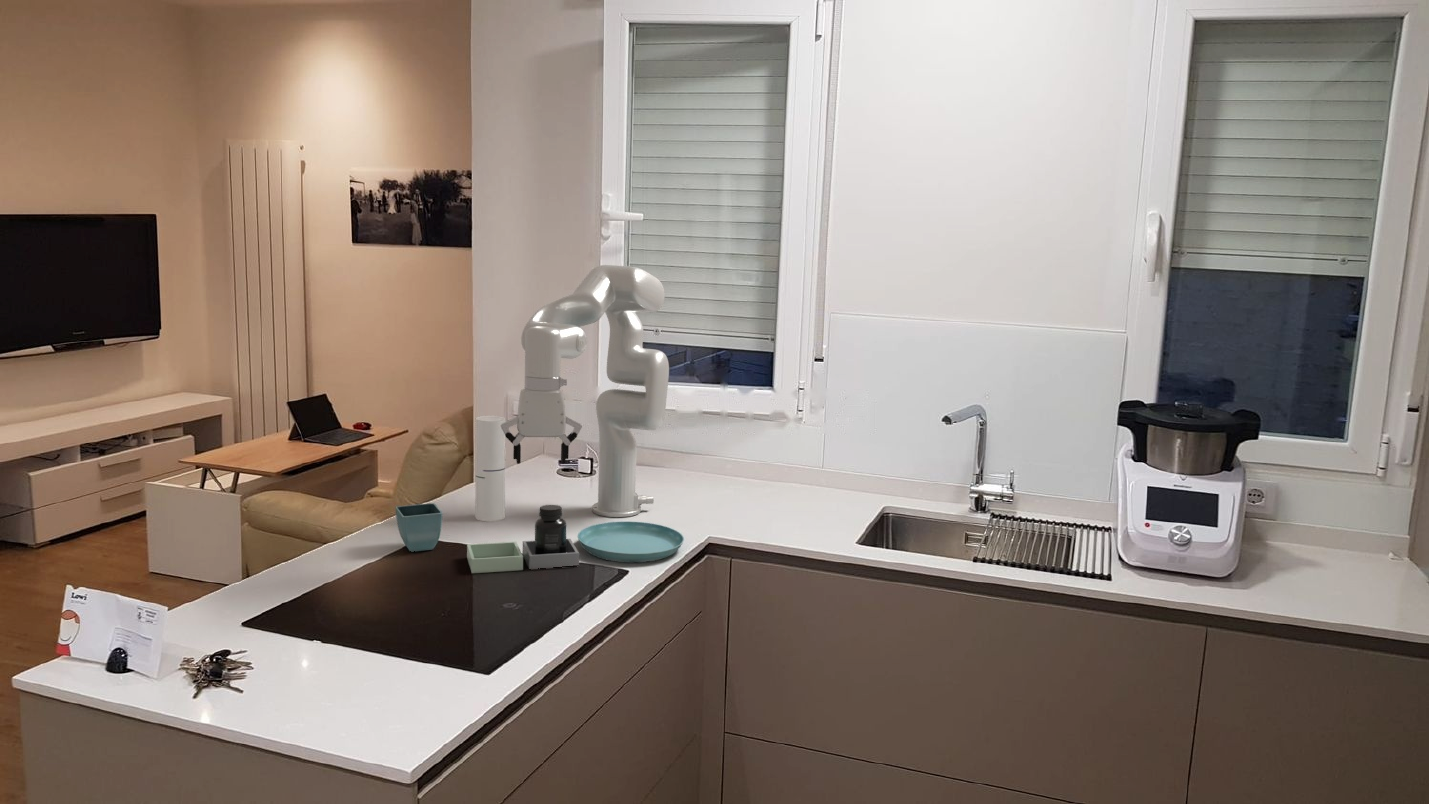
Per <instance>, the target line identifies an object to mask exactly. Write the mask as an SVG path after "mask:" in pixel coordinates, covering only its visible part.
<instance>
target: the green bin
mask: <svg viewBox="0 0 1429 804" xmlns="http://www.w3.org/2000/svg"><path fill="white" fill-rule="evenodd" d="M466 551H467V552H466V558H467V562H468V565H469V568H470V569H469V570H470V571H471V574H480V573H494V572H495V573H498V572H512V571H523V570H524V556H523V552H522V551H521V549H520V546H519V544H518V542H517V541H507V542H505V541H503V542H486V543H485V542H484V543H483V542H482V543H467V544H466Z"/></svg>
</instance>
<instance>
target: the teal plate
mask: <svg viewBox="0 0 1429 804" xmlns="http://www.w3.org/2000/svg"><path fill="white" fill-rule="evenodd" d="M577 539H578V541H579V543H580V545H581V546H582V547H583V549H584V550H586V551H587V552H588V553H590V554H591V555H592V556H594V557H596V556H597V558H600V559H601V560H605V559H607V561H610V560H611V562H616V561H619V562H618V563H629V562H638V563H647V562H646V561H650V562H655V560H656V561H659V560H663V558H664V559H666V558H669V557H670V556H672V555H674V553H676V552H677V551H679V549H680V548H681V547H682V545H683V543H684V541H685V537H684V535H683V534H682V533H681V532H680V531H678V530H676V529H674V528H672V527H669V526H666V525H662V524H658V523H651V522H642V521H611V522H610V521H609V522H602V523H597V524H592V525H590V526H587V527H585V528H583V529H581V530H580V531H579V532H578V533H577Z"/></svg>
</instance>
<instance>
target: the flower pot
mask: <svg viewBox="0 0 1429 804" xmlns="http://www.w3.org/2000/svg"><path fill="white" fill-rule="evenodd" d="M394 509H395V517H396V523H397V529H398V532H399V535H400V538H401V540H402V541H403V543H404V545H405V547H406V548H407V550H408V551H409V552H410V551H411V553H413V552H414V551H415V552H423V551H430V550H434V549H435V547H436V545H437V544H438V542H439V540H440V536H441V533H442V525H443V524H442V523H443V515H444V514H443V513H444V512H443V511H442V510H441V509H440V508H439V507H438V506H437V505H436V503H434V502H431V503H430V502H429V503H418V504H411V505H409V504H407V505H398V506H395V508H394Z"/></svg>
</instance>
